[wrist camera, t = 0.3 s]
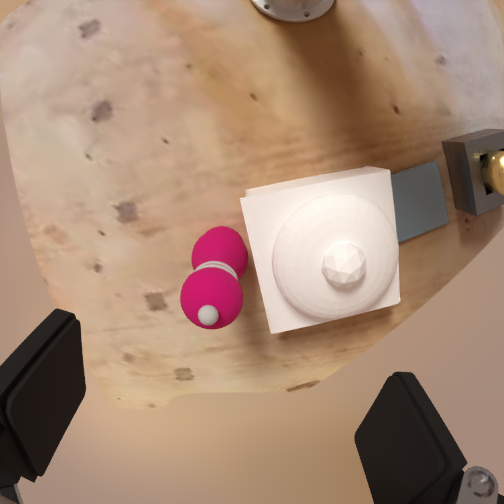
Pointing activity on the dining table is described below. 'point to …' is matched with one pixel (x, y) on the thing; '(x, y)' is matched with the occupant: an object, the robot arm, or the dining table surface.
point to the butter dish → (324, 246)
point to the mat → (418, 200)
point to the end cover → (493, 170)
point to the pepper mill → (215, 279)
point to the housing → (472, 170)
